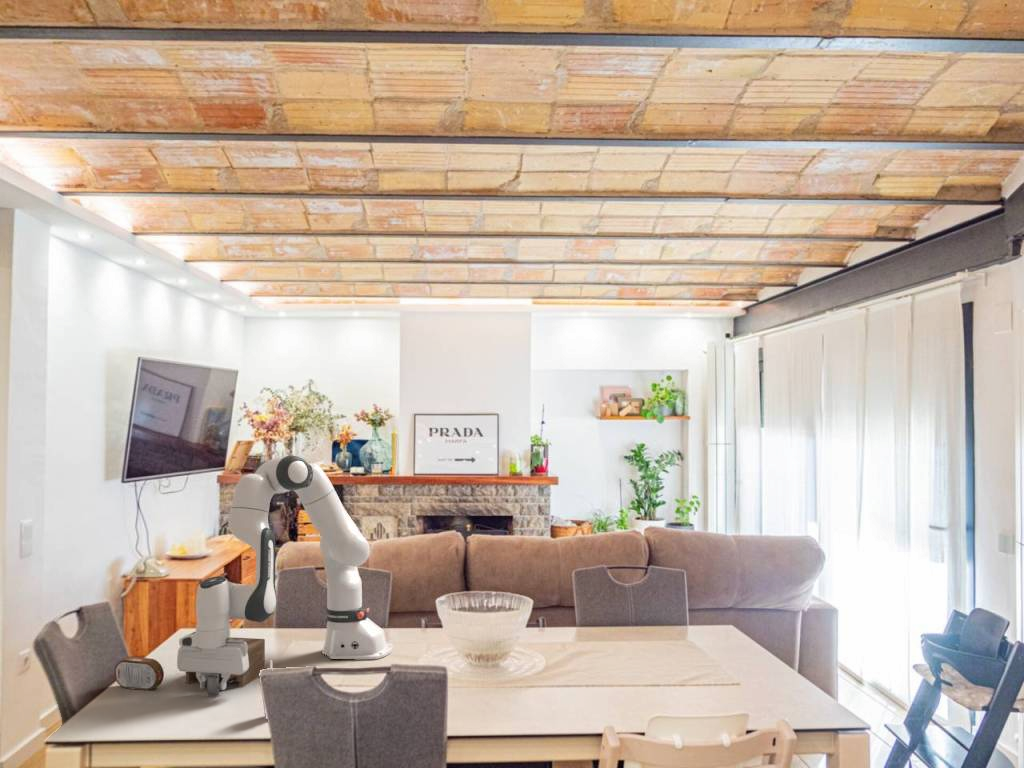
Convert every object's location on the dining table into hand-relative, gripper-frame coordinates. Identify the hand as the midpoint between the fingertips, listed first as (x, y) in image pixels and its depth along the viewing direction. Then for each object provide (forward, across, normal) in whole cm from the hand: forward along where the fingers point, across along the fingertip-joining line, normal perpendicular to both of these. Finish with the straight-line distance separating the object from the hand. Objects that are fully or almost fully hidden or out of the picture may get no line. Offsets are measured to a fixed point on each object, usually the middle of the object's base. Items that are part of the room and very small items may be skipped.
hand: (213, 688), depth 215 cm
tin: (+2, +24, -1) cm, 24 cm away
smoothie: (+2, -25, +12) cm, 28 cm away
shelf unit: (+2, +4, -13) cm, 14 cm away
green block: (+2, +9, -14) cm, 17 cm away
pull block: (+2, 0, -8) cm, 8 cm away
